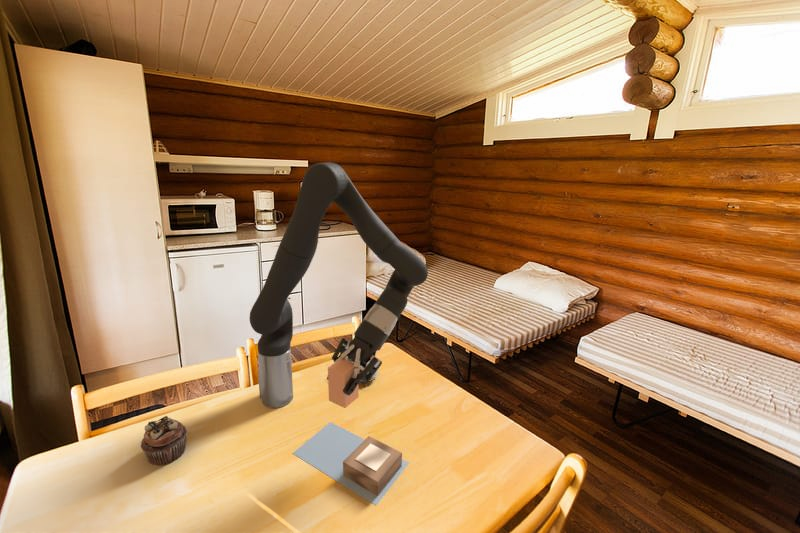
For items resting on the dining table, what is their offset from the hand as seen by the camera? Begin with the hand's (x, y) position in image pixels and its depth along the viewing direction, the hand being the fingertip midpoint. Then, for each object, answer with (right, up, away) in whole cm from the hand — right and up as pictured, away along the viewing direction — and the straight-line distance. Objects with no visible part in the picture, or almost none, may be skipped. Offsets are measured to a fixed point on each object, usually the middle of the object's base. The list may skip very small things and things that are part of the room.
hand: (337, 387), depth 85 cm
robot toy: (-1, -10, +41) cm, 42 cm away
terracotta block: (+1, -4, +2) cm, 4 cm away
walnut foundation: (+8, -21, +2) cm, 22 cm away
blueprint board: (+2, -20, +5) cm, 21 cm away
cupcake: (-44, -19, +5) cm, 48 cm away
